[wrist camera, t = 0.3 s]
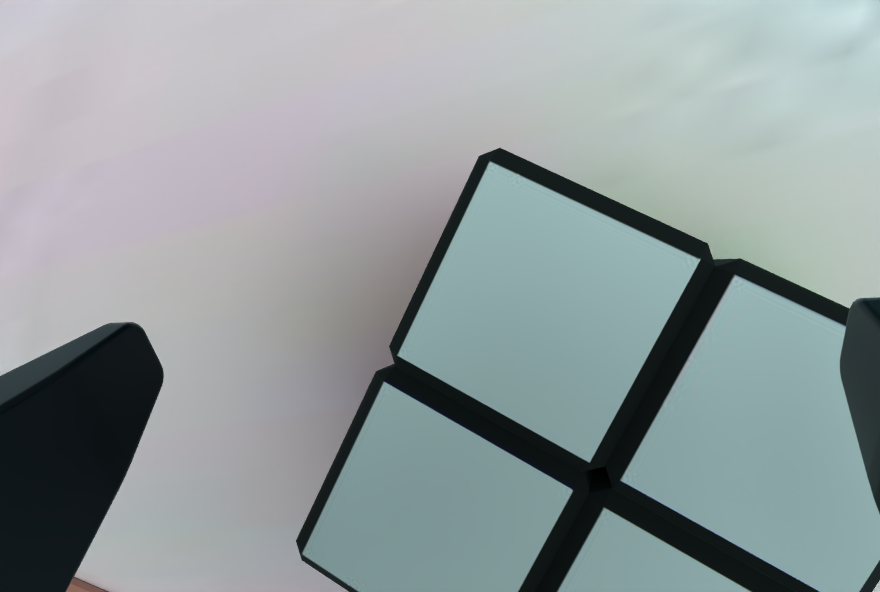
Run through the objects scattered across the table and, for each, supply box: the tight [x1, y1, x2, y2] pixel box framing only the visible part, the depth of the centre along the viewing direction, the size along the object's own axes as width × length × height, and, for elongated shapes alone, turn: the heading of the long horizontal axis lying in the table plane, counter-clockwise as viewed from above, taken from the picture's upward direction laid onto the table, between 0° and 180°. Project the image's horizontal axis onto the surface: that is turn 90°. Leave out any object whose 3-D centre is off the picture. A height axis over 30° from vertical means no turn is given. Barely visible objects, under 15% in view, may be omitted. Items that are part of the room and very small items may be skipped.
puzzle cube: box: [296, 148, 880, 592], centre depth 18 cm, size 10×10×10 cm
